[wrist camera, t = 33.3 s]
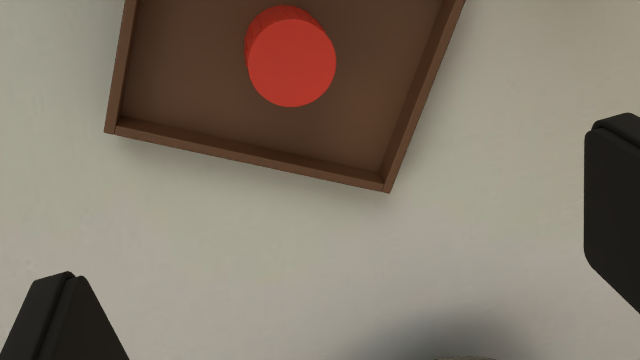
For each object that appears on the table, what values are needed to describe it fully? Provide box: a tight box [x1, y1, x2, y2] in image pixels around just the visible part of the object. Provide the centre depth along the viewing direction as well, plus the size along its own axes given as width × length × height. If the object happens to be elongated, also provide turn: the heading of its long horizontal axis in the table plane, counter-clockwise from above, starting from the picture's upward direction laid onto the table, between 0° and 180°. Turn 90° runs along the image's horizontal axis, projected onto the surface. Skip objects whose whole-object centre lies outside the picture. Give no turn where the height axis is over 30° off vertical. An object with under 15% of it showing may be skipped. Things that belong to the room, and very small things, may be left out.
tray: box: [104, 0, 465, 193], centre depth 28 cm, size 15×12×2 cm
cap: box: [244, 5, 336, 107], centre depth 26 cm, size 4×4×4 cm
